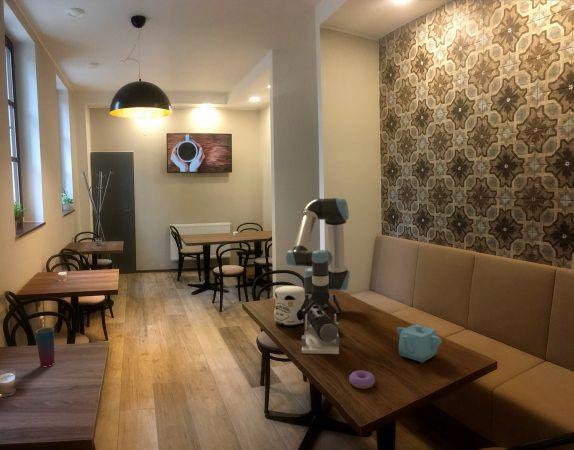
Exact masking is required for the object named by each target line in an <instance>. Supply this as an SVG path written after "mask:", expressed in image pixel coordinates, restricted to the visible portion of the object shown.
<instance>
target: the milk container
mask: <svg viewBox="0 0 574 450" xmlns="http://www.w3.org/2000/svg"><path fill="white" fill-rule="evenodd" d="M274 291H275V292H274V301H275V302H274V303H275V306H274V310H273V320H274V322H276V324H278V325H281V326H287V327H295V326H299V325H303V324H304V322H303V315H302V314H299V310H300V308H301V306H302V304H303V302H304V300H305V290H304V287H302V286H297V285H285V286H284V285H283V286H278V287H276V288H275V290H274ZM305 309H306V307H304V309H303V311H304V310H305Z"/></svg>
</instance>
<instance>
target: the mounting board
mask: <svg viewBox="0 0 574 450" xmlns="http://www.w3.org/2000/svg"><path fill="white" fill-rule="evenodd" d="M303 325H304V326H303V327H304V328H303V330H304V335H303V334H302V335H301V354H319V355H321V354H323V355H325V354H326V355H327V354H329V355H339V354H340V349H339V348H340V335H339V334H338V335H337V337H336V339H335V340H333V341H331V342H326V341H322V340H321V339H320V338H319V337H318V335H317V334H316V331H315V330H314V328H313V327H312V325H311V324H309V321H308V320H307V329H306V327H305V322H304V323H303ZM336 325H337V327H338V332H339V330H340V329H339V322H336Z"/></svg>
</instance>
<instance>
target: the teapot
mask: <svg viewBox="0 0 574 450" xmlns="http://www.w3.org/2000/svg"><path fill="white" fill-rule="evenodd" d="M396 332H397V335H398V336H399V340H398V354H399V356H401V357H404V358H405V359H411V360H413V361H417V362H419V363H425V362H426V361H428V360H429V359H431V358H433V357H434V356H435V355H437V353H438V349H439V346H441V344H442V343H443V340H442V338H441V337H440V336H438V335H437V334H438V333H437V330H436V329H435V328H431V327H428V326H425V325H422V324H421V325H420V324H412V325H409V326H407V327H403V326H398V327H397V328H396Z"/></svg>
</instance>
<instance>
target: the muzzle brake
mask: <svg viewBox="0 0 574 450" xmlns="http://www.w3.org/2000/svg"><path fill="white" fill-rule="evenodd" d="M314 308H316V309H314ZM319 313H320V314H319ZM306 314H307V321H308V324H309V325H312V327H313V328H314V330H315V331H316V334H317V335H318V337H319V338H320V339H321V340H322V341H326V342H331V341H333V340H335V339H336V337H337V335H338V336H339V331H338V327H337V325H336V324H335V320H333V319H331V318H330V316H329V315H328V314H327V313H326V311H325V309H322V308H321V307H320V306H319V305H317V304H314V305H313V306H312V307H311V309H310V310H309V311H308V312H307V313H306Z"/></svg>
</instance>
